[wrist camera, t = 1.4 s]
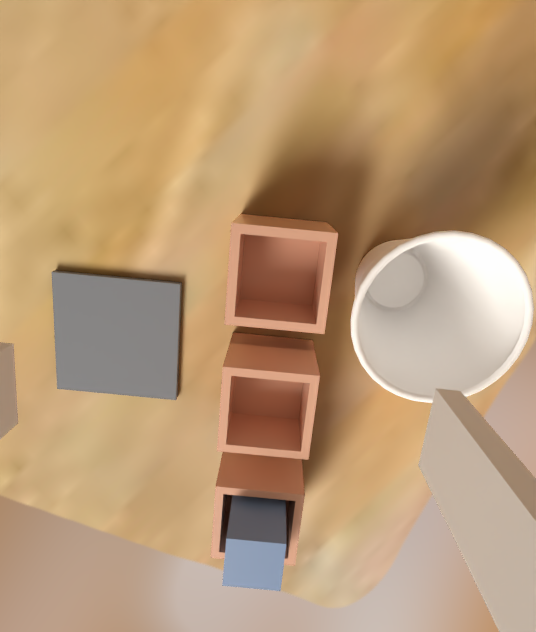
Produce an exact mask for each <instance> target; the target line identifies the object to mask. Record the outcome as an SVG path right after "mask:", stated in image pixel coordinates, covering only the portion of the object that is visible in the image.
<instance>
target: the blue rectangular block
mask: <svg viewBox="0 0 536 632" xmlns="http://www.w3.org/2000/svg"><path fill="white" fill-rule="evenodd" d="M285 551H286V500H280V499H269V498H259V497H248V496H238V495H233V496H232V503H231V510H230V517H229V523H228V530H227V537H226V548H225V560H224V573H223V586H233V587H243V588H254V589H264V590H275V591H280V590H281V582H282V575H283V567H284V559H285Z"/></svg>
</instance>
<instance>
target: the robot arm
mask: <svg viewBox="0 0 536 632" xmlns="http://www.w3.org/2000/svg"><path fill="white" fill-rule="evenodd" d="M17 424H18V413H17V396H16V379H15V361H14V344H11V343H1V342H0V439H1V438H2V437H3V436H4V435H6V434H7V433H8V432H9V431H10V430H11V429H12V428H13V427H14V426H15V425H17ZM419 468H420V470H421V472H422V474H423V476H424V478H425V480H426V482H427V484H428V486H429V488H430V490H431V492H432V494H433V496H434V498H435V500H436V502H437V505H438V506H439V509H440V510H441V513H442V515H443V517H444V519H445V521H446V523H447V525H448V527H449V529H450V531H451V533H452V535H453V538H454V539H455V542H456V544H457V546H458V548H459V549H460V552H461V554H462V556H463V558H464V560H465V562H466V564H467V566H468V568H469V570H470V573H471V574H472V577H473V579H474V581H475V583H476V585H477V587H478V589H479V591H480V593H481V594H482V597H483V599H484V601H485V603H486V605H487V607H488V609H489V612H490V614H491V616H492V617H493V620H494V622H495V624H496V626H497V628H498V630H499V632H536V478H535V477H534V476H533V475H532V473H531V472H530V471H529V470H528V469H527V468H526V467H525V465H524V464H523V463H522V462H521V461H520V460H519V458H517V456H516V455H515V454H514V453H513V451H512V450H511V449H510V448H509V447H508V446H507V445H506V443H505V442H504V441H503V440H502V439H501V438H500V436H499V435H498V434H497V433H496V432H495V431H494V430H493V428H492V427H491V426H490V425H489V424H488V423H487V421H486V420H485V419H484V418H483V417H482V416H481V414H480V413H479V412H478V411H477V410H476V409H475V407H474V406H473V405H472V404H471V403H470V402H469V400H468V399H467V398H466V397H465V396H464V395H463V394H462V392H461V391H456V390H447V389H437V388H436V389H435V393H434V398H433V402H432V407H431V411H430V416H429V420H428V425H427V429H426V434H425V438H424V443H423V447H422V452H421V456H420V461H419Z"/></svg>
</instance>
